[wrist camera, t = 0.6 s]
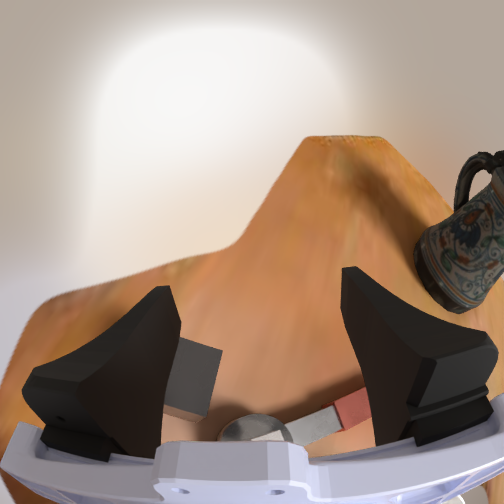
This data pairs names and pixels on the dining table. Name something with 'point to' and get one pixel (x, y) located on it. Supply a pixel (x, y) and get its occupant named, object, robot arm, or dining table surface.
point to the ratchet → (301, 422)
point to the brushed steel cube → (191, 380)
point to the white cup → (455, 500)
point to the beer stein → (466, 240)
